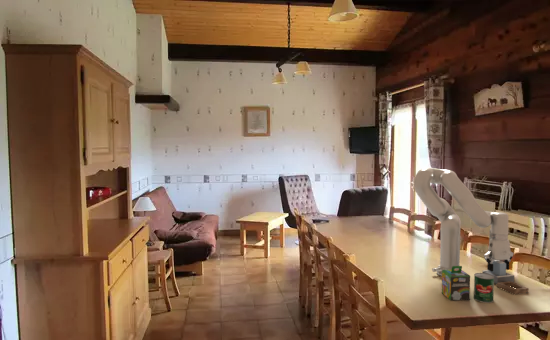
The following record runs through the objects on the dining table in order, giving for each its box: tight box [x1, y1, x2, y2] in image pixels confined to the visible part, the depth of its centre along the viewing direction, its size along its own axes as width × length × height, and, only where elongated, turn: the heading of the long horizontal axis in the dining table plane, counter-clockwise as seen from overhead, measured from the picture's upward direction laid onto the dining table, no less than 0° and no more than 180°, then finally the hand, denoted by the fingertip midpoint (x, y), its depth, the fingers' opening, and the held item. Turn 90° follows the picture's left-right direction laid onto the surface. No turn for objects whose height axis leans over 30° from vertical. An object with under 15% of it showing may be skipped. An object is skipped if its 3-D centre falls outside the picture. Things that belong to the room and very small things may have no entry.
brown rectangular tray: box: [496, 281, 529, 295], centre depth 189 cm, size 8×10×2 cm
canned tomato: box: [473, 272, 495, 304], centre depth 178 cm, size 8×8×11 cm
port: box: [481, 269, 515, 285], centre depth 201 cm, size 10×10×4 cm
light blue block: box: [491, 260, 507, 276], centre depth 201 cm, size 4×6×10 cm, turn 14°
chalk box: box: [441, 265, 471, 301], centre depth 181 cm, size 9×9×15 cm
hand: (498, 269), depth 201 cm, fingers open, 9 cm apart
